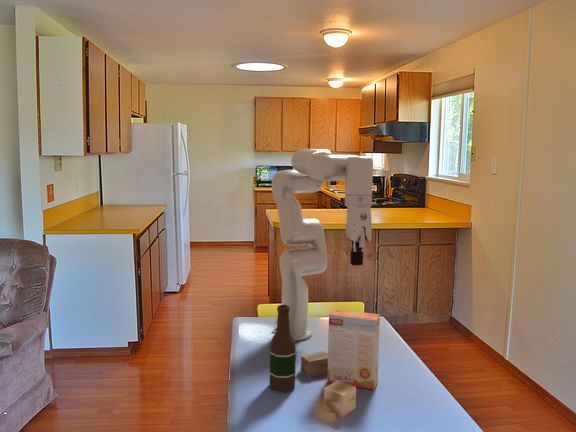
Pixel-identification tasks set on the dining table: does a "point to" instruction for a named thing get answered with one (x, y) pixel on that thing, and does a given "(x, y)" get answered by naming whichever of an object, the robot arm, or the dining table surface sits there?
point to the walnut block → (314, 363)
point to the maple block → (339, 398)
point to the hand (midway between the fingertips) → (356, 264)
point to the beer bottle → (282, 354)
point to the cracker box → (353, 348)
